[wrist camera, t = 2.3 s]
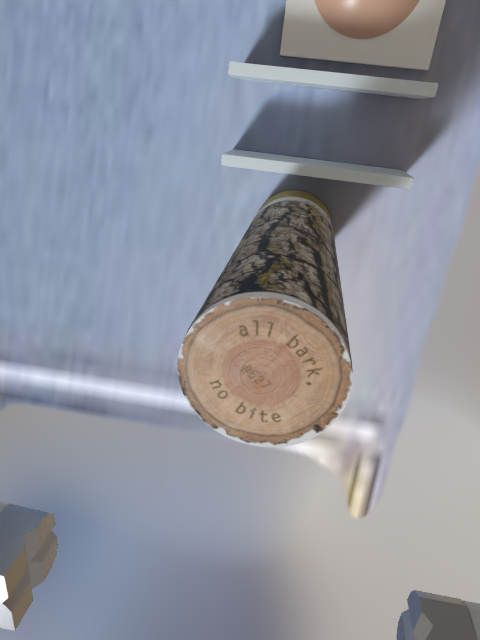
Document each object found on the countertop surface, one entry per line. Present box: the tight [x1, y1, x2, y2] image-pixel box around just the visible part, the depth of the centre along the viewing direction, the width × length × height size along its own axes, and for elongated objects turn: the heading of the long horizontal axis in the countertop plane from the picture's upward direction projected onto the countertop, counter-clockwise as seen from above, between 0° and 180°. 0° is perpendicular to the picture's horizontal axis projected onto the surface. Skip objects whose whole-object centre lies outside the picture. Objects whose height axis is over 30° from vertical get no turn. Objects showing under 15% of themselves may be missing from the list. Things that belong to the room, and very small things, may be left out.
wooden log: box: [178, 190, 352, 447], centre depth 28 cm, size 7×7×25 cm
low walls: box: [221, 62, 439, 189], centre depth 33 cm, size 7×14×5 cm, turn 84°
